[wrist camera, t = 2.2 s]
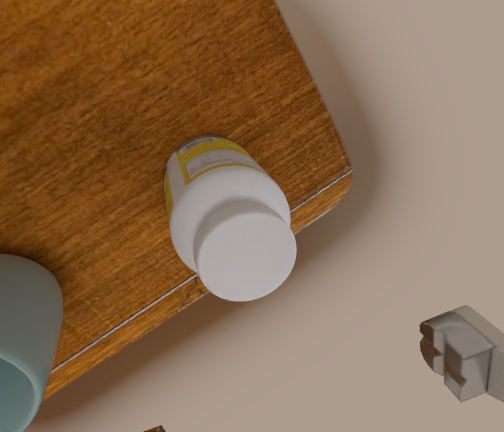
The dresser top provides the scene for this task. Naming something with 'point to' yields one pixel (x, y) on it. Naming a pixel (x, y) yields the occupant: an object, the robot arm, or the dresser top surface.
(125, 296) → the dresser top surface
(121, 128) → the dresser top surface
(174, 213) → the pill bottle
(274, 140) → the dresser top surface
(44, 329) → the cup
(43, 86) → the dresser top surface
